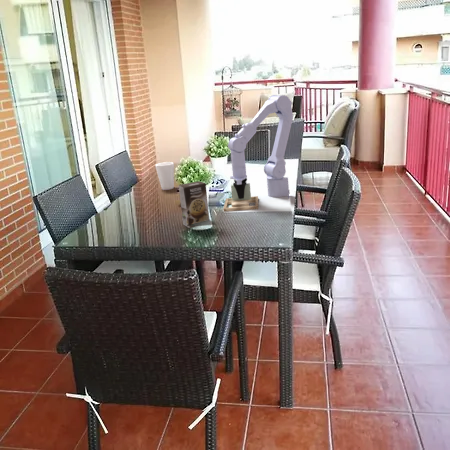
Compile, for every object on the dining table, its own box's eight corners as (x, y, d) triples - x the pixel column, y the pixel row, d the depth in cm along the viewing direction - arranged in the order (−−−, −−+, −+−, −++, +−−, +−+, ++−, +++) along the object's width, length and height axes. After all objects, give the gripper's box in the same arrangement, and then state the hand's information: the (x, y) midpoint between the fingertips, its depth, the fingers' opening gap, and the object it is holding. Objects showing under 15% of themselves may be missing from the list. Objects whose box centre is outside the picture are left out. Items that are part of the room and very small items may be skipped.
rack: (258, 201, 210) (257, 196, 209) (258, 212, 195) (257, 206, 194) (226, 203, 211) (226, 198, 211) (223, 214, 196) (223, 208, 196)
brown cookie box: (189, 228, 183) (184, 187, 178) (182, 224, 189) (177, 184, 184) (210, 223, 187) (206, 182, 182) (203, 219, 193) (199, 180, 188)
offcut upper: (248, 205, 201) (248, 200, 200) (249, 207, 197) (248, 203, 196) (232, 207, 201) (231, 202, 200) (232, 209, 197) (231, 205, 196)
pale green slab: (251, 203, 209) (249, 183, 206) (251, 204, 207) (249, 184, 204) (233, 204, 209) (231, 184, 207) (232, 205, 208) (231, 185, 205)
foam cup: (155, 190, 250) (151, 165, 246) (164, 186, 258) (160, 162, 254) (171, 190, 246) (168, 165, 242) (179, 186, 254) (176, 161, 250)
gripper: (230, 163, 210) (233, 193, 214) (228, 170, 196) (231, 202, 201) (246, 162, 209) (249, 192, 214) (245, 168, 196) (248, 200, 200)
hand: (241, 196), depth 207 cm, fingers open, 5 cm apart
